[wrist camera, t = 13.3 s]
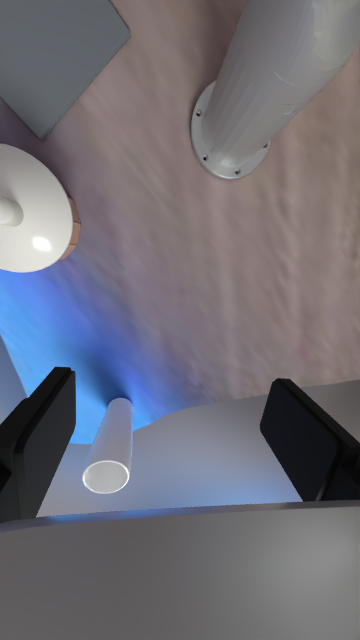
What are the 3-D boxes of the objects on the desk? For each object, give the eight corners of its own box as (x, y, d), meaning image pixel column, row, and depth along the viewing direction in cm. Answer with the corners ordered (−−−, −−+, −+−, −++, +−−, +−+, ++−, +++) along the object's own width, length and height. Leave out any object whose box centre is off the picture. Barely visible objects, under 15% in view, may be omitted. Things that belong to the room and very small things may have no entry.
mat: (6, -145, 23) (2, -156, 22) (130, 36, 28) (130, 31, 28) (-92, -3, 25) (-98, -9, 24) (41, 140, 30) (39, 138, 30)
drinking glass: (97, 406, 44) (70, 479, 30) (121, 387, 44) (106, 452, 29) (120, 425, 46) (105, 501, 32) (143, 407, 46) (139, 476, 31)
